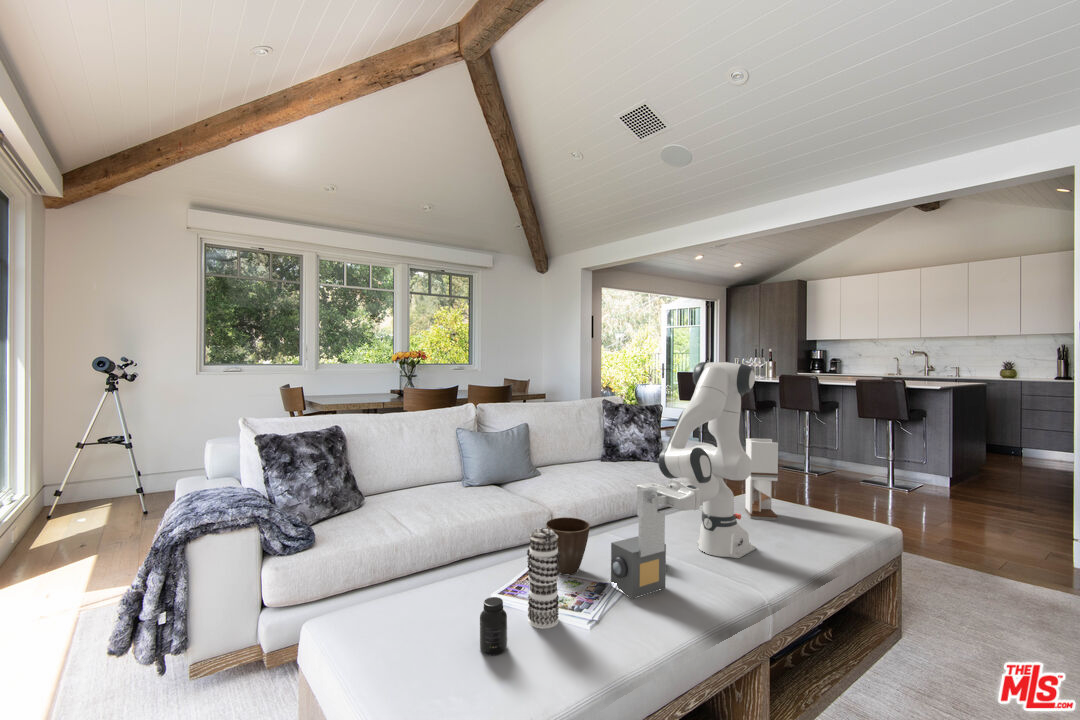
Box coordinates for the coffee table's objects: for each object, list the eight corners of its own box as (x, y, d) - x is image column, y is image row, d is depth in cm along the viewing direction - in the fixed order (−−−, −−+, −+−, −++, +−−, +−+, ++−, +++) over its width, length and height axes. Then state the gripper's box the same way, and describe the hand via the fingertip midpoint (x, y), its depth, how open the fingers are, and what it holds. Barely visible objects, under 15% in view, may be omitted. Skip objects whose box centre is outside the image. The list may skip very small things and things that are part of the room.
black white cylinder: (549, 633, 137) (549, 539, 137) (520, 623, 142) (520, 532, 142) (565, 618, 145) (566, 529, 145) (537, 609, 150) (538, 523, 150)
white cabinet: (750, 518, 236) (751, 442, 235) (745, 511, 246) (746, 438, 246) (777, 520, 234) (778, 442, 234) (770, 513, 244) (771, 439, 244)
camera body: (643, 576, 173) (643, 534, 173) (665, 588, 164) (666, 544, 164) (605, 587, 165) (606, 543, 164) (627, 600, 156) (627, 554, 156)
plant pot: (595, 566, 181) (595, 521, 181) (580, 583, 168) (580, 534, 167) (556, 559, 187) (556, 515, 187) (538, 575, 174) (538, 527, 174)
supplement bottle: (480, 641, 133) (480, 595, 133) (506, 640, 134) (507, 594, 134) (479, 657, 126) (479, 608, 126) (507, 655, 127) (507, 607, 127)
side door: (660, 549, 164) (661, 485, 163) (666, 551, 162) (666, 486, 161) (636, 555, 158) (637, 489, 158) (642, 558, 156) (642, 490, 156)
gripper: (655, 476, 175) (624, 481, 167) (703, 490, 157) (671, 496, 150) (655, 495, 175) (623, 501, 167) (703, 511, 157) (671, 518, 150)
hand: (646, 499), depth 159 cm, fingers closed on side door, 2 cm apart
